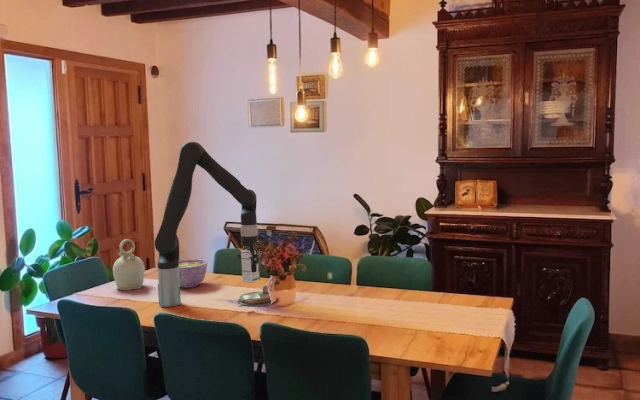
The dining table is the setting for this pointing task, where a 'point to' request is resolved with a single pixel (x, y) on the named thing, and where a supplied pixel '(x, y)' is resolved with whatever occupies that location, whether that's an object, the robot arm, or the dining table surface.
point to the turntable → (256, 297)
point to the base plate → (252, 304)
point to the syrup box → (249, 268)
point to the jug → (128, 269)
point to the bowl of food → (191, 272)
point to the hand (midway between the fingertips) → (250, 270)
